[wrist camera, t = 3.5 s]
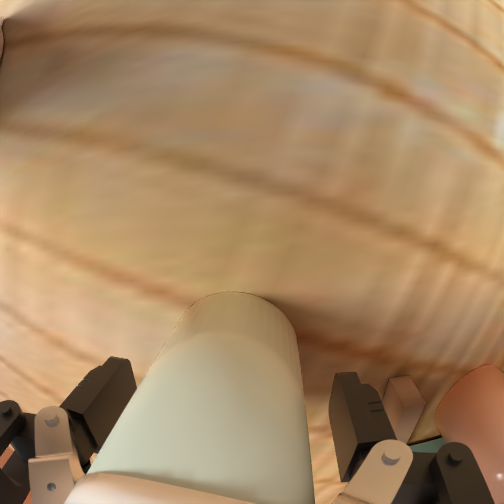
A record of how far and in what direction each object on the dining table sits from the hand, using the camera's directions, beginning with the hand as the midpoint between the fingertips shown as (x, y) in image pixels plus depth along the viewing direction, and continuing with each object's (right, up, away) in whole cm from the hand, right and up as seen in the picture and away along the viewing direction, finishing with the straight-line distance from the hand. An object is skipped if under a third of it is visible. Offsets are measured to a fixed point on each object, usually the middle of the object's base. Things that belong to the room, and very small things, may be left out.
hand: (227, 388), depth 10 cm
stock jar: (+15, -5, +3) cm, 16 cm away
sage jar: (0, +1, +3) cm, 3 cm away
